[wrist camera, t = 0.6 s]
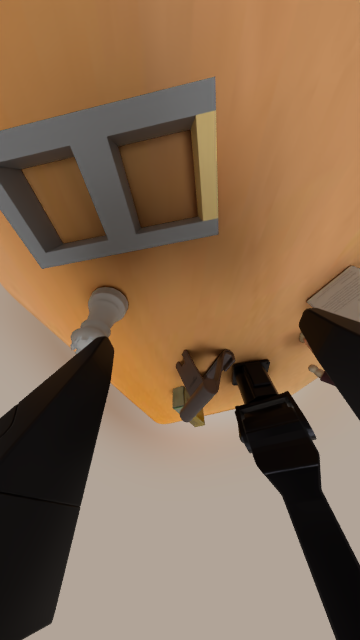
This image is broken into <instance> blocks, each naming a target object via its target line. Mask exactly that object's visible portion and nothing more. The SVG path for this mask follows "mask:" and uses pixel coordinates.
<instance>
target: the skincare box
mask: <svg viewBox="0 0 360 640" xmlns="http://www.w3.org/2000/svg"><path fill="white" fill-rule="evenodd" d="M307 303H308V304H309V305H311V306H312V307H313V308H319V309H322V310H325V311H328V312H331V313H334V314H337V315H340V316H343V317H346V318H349V319H352V320H355V321H358V322H360V268H357V267H355V266H350V267H349V268H347V269H346V270H345V271H344V272H342V273H341V274H340V275H339V276H337V277H336V278H335V279H334V280H333V281H331V282H330V283H329V284H328V285H326V286H325V287H324V288H323V289H321V290H320V291H319V292H318V293H316V294H315V295H314V296H313V297H311V298H310V299H309V300H308V301H307Z"/></svg>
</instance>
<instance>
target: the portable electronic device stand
mask: <svg viewBox="0 0 360 640" xmlns="http://www.w3.org/2000/svg"><path fill="white" fill-rule="evenodd" d="M182 356H183V358H184V361H185V362H184V364H183V366H182V365H181V364H180V362H177V364H176V369H177V371H178V373H179V375H180V377H181V379H182V381H183V383H184V385H185V387H186V389H187V391H188V394H189V396H190V399H189V400H188V401H187V402H186V404H185V405H184V406H183V408H182V409H181V410H180V417H181V419H182V420H183V421H184V422H190V421H191V420H192V419H193V418H194V417H195V416H196V415H197V414H198V413H199V411H200V410H201V409H202V408H203V407H204V406H205V405H206V404H207V403H208V402H209V401H210V400H211V399H212V398H213V396H214V395H215V394H216V393H217V392H218V390H219V384H220V378H221V372H222V371H223V370H224V371H227V370H228V369H229V367H230V366H231V365H232V364H233V363H234V362H235V357H234V354H233V353H232V352H231V351H230V350H227V349H226V350H224V351H223V352H222V353H221V354H220V355H219V357H218V359H217V360H216V361H215V363H214V364H213V365H212V367H211V368H210V369H209V371H208V372H207V373H206V374H205V375H204V376H203V378H202V376H201V374H200V373H199V371H198V369H197V367H196V366H195V364H194V362H193V360H192V359H191V357H190V355H189V353H188V352H187V350H184V352H183V353H182Z"/></svg>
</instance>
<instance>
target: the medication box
mask: <svg viewBox="0 0 360 640" xmlns="http://www.w3.org/2000/svg"><path fill="white" fill-rule="evenodd" d="M189 399H190V396H189V394H188V391H187V389H186V388H185V387H184V386H181V387H177V388H175V389H173V409H174V410H176V411H177V412H178V413H179V414H180V410H181V409H182V408H183V406H184V405H185V404H186V402H187V401H188V400H189ZM190 423H191V424H192V425H193V426H194V427H198V426H203V425H205V422H204V413H203V408H202V409H201V410H200V411H199V413H198V414H197V415H196V416H195V417H194V418H193V419H192V420H191V421H190Z"/></svg>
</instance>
